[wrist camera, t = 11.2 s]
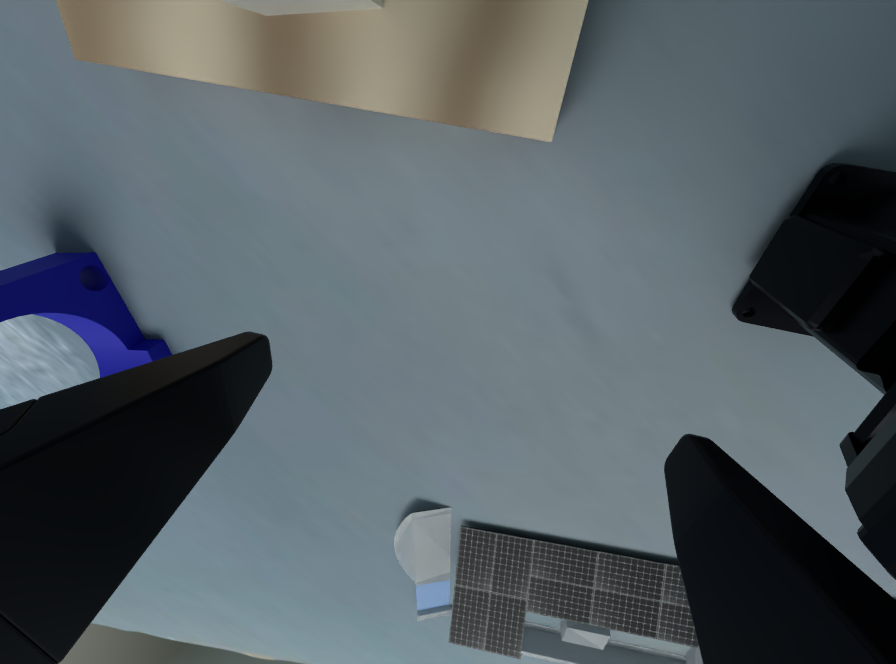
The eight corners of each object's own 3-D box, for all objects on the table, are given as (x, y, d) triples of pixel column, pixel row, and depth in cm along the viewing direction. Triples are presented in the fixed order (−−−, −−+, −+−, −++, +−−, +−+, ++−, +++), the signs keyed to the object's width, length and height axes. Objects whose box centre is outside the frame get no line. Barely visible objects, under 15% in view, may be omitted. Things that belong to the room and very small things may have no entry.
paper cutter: (907, 709, 32) (971, 810, 28) (406, 600, 39) (389, 667, 34) (1102, 613, 23) (1247, 742, 18) (395, 490, 29) (370, 562, 25)
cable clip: (203, 406, 28) (132, 473, 23) (153, 402, 29) (74, 466, 24) (119, 251, 22) (-3, 295, 17) (59, 252, 23) (-75, 294, 18)
